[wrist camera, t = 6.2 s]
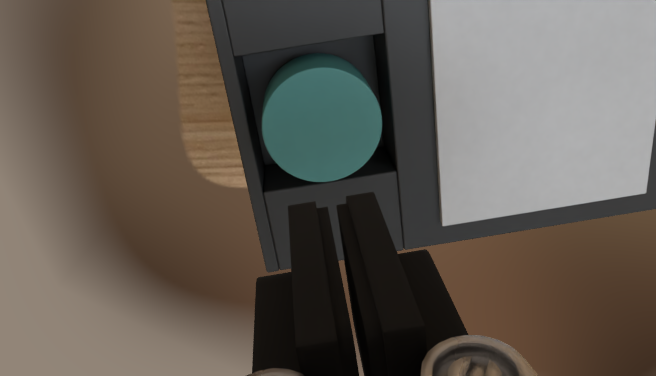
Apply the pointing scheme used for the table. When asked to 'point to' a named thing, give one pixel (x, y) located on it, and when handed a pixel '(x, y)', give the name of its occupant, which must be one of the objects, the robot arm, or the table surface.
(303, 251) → the robot arm
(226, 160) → the table surface
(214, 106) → the table surface
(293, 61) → the button
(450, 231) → the scale
